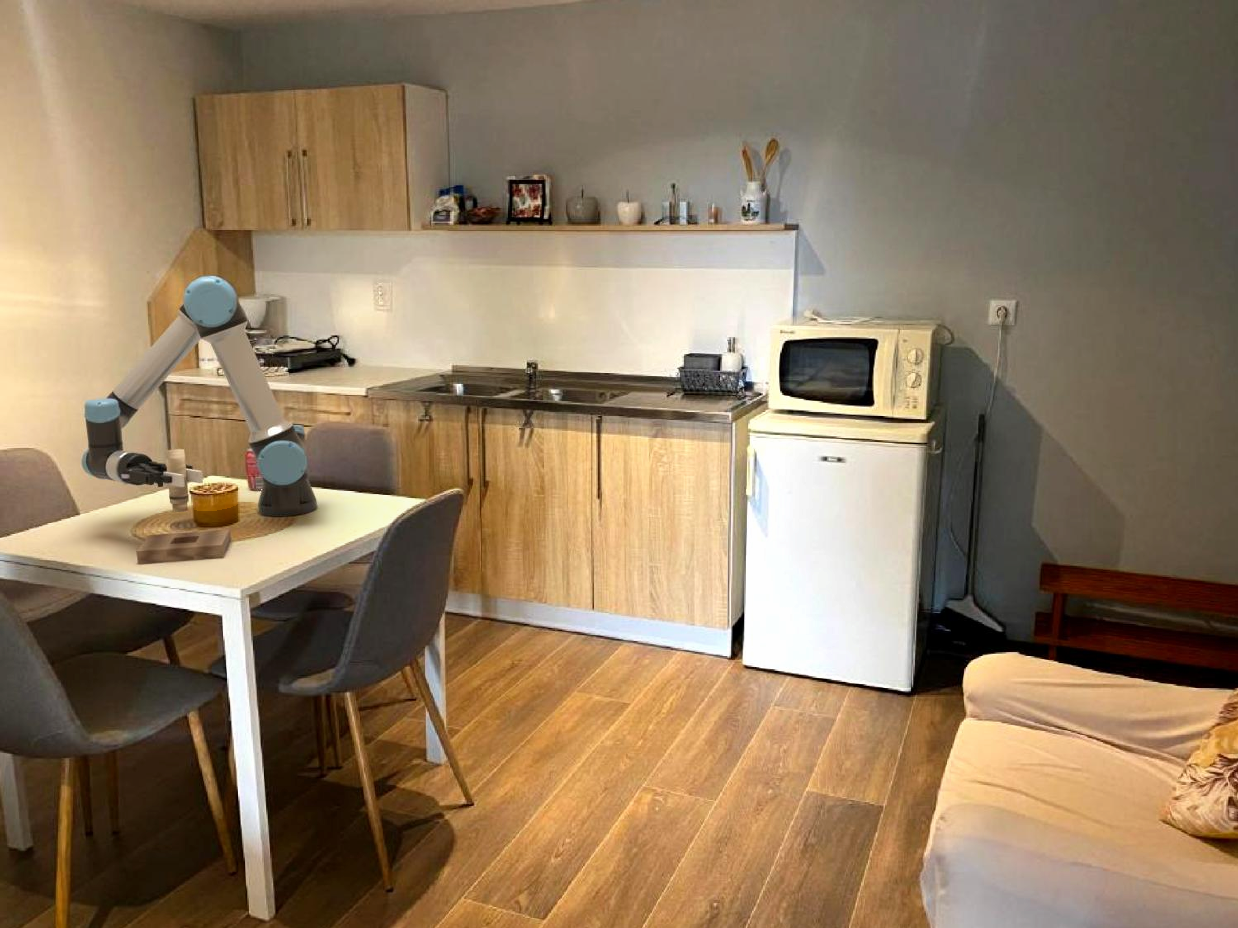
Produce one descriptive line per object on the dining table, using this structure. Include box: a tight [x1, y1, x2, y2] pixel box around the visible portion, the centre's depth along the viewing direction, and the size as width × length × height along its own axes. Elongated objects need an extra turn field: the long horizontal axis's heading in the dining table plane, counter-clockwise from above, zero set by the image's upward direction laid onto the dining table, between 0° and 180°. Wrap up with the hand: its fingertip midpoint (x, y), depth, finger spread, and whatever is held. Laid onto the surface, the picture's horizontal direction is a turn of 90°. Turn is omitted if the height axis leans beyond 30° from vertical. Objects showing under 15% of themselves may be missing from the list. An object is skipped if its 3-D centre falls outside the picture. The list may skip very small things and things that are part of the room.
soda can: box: [244, 447, 263, 491], centre depth 304 cm, size 7×7×12 cm
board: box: [136, 529, 232, 565], centre depth 240 cm, size 18×14×3 cm
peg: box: [164, 448, 190, 513], centre depth 237 cm, size 4×4×14 cm
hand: (191, 479), depth 234 cm, fingers closed on peg, 4 cm apart
